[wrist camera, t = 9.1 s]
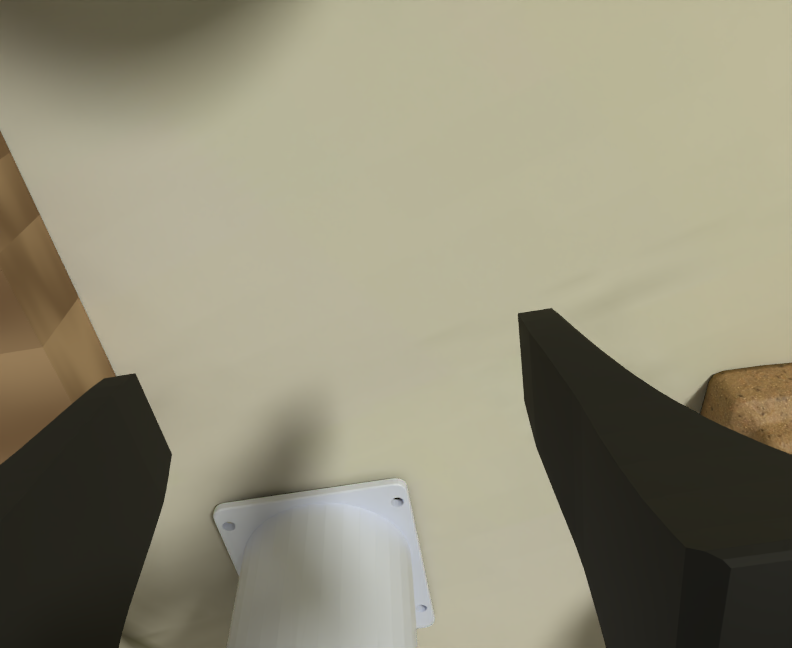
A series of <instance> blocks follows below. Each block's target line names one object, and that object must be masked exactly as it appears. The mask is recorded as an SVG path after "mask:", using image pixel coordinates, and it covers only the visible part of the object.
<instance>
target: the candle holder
mask: <svg viewBox="0 0 792 648" xmlns="http://www.w3.org/2000/svg"><path fill="white" fill-rule="evenodd" d="M700 415H702V416H704V417H706V418H708V419H710V420H712V421H714V422H716V423H718V424H720V425H722V426H725V427H727V428H729V429H731V430H734V431H736V432H738V433H740V434H743V435H745V436H747V437H749V438H752V439H754V440H756V441H758V442H761V443H763V444H766V445H768V446H771V447H774V448H776V449H779V450H781V451H784V452H786V453H789V454H792V363H785V364H774V365H763V366H755V367H748V368H741V369H734V370H726V371H722V372H720V373H717V374H715V375H713V377H712V378H711V380H710V381H709V383H708V387H707V391H706V395H705V398H704V402H703V406H702V410H701V414H700Z"/></svg>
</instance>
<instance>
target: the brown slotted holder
mask: <svg viewBox="0 0 792 648" xmlns="http://www.w3.org/2000/svg"><path fill="white" fill-rule="evenodd" d="M110 377H116V375H115V373H114V371H113V369H112V367H111V365H110V362H109V360H108V358H107V356H106V354H105V352H104V350H103V348H102V346H101V343H100V341H99V339H98V337H97V335H96V333H95V331H94V329H93V326H92V324H91V322H90V320H89V318H88V316H87V314H86V312H85V309H84V307H83V305H82V303H81V301H80V299H79V297H78V295H77V293H76V290H75V288H74V286H73V284H72V282H71V280H70V278H69V276H68V273H67V271H66V269H65V267H64V265H63V263H62V261H61V259H60V256H59V254H58V252H57V250H56V248H55V246H54V244H53V242H52V240H51V237H50V235H49V233H48V231H47V229H46V227H45V225H44V223H43V220H42V218H41V216H40V214H39V212H38V210H37V208H36V206H35V204H34V201H33V199H32V197H31V195H30V193H29V191H28V189H27V187H26V184H25V182H24V180H23V178H22V176H21V174H20V172H19V170H18V167H17V165H16V163H15V161H14V159H13V157H12V155H11V153H10V151H9V148H8V146H7V144H6V142H5V140H4V138H3V136H2V134H1V131H0V464H2V463H3V462H4V461H5V460H7V459H8V458H9V457H10V456H12V455H13V454H14V453H15V452H17V451H18V450H19V449H20V448H21V447H23V446H24V445H25V444H26V443H27V442H28V441H29V440H31V439H32V438H33V437H34V436H35V435H36V434H38V433H39V432H40V431H41V430H42V429H43V428H44V427H46V426H47V425H48V424H49V423H50V422H51V421H53V420H54V419H55V418H56V417H57V416H58V415H59V414H61V413H62V412H63V411H64V410H65V409H66V408H68V407H69V406H70V405H71V404H72V403H73V402H75V401H76V400H77V399H78V398H79V397H80V396H82V395H83V394H84V393H85V392H87V391H88V390H89V389H90V388H92V387H93V386H94V385H96V384H97V383H98V382H100V381H101V380H103V379H104V378H110Z"/></svg>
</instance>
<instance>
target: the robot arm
mask: <svg viewBox="0 0 792 648" xmlns="http://www.w3.org/2000/svg"><path fill="white" fill-rule="evenodd" d="M518 322H519V335H520V348H521V361H522V375H523V388H524V401H525V405H526V409H527V413H528V417H529V421H530V425H531V429H532V432H533V436H534V440H535V444H536V447H537V450H538V452H539V455H540V458H541V460H542V463H543V465H544V468H545V470H546V473H547V475H548V478H549V480H550V483H551V485H552V488H553V490H554V493H555V495H556V498H557V500H558V503H559V505H560V508H561V510H562V513H563V515H564V518H565V520H566V523H567V525H568V528H569V530H570V533H571V535H572V538H573V540H574V543H575V545H576V548H577V550H578V553H579V556H580V559H581V562H582V565H583V568H584V571H585V574H586V578H587V581H588V584H589V588H590V591H591V595H592V598H593V602H594V605H595V609H596V612H597V616H598V619H599V623H600V627H601V630H602V634H603V638H604V641H605V645H606V648H792V454H789V453H786V452H784V451H781V450H779V449H776V448H774V447H771V446H768V445H766V444H763V443H761V442H758V441H756V440H754V439H752V438H749V437H747V436H745V435H743V434H740V433H738V432H736V431H734V430H731V429H729V428H727V427H725V426H722V425H720V424H718V423H716V422H714V421H712V420H710V419H708V418H706V417H704V416H702V415H700V414H699V413H697V412H695V411H693V410H691V409H689V408H688V407H686V406H684V405H682V404H680V403H678V402H677V401H675V400H673V399H671V398H670V397H668V396H666V395H665V394H663V393H661V392H660V391H658V390H656V389H655V388H653V387H652V386H650V385H649V384H647V383H646V382H644V381H643V380H641V379H640V378H638V377H637V376H635V375H634V374H632V373H631V372H630V371H628V370H627V369H625V368H624V367H623V366H621V365H620V364H619V363H617V362H616V361H615V360H614V359H612V358H611V357H610V356H608V355H607V354H606V353H604V352H603V351H602V350H601V349H599V348H598V347H597V346H596V345H594V344H593V343H592V342H591V341H590V340H588V339H587V338H586V337H585V336H584V335H582V334H581V333H580V332H579V331H578V330H577V329H575V328H574V327H573V326H572V325H571V324H570V323H568V322H567V321H566V320H565V319H564V318H563V317H562V316H560V315H559V314H558V313H557V312H556V311H554V310H553V309H552V308H550V309H543V310H537V311H531V312H524V313H518ZM171 456H172V454H171V451H170V449H169V447H168V445H167V442H166V440H165V438H164V436H163V434H162V431H161V429H160V427H159V425H158V423H157V420H156V418H155V416H154V414H153V411H152V409H151V407H150V405H149V403H148V400H147V398H146V396H145V394H144V392H143V389H142V387H141V385H140V383H139V380H138V378H137V376H136V374H129V375H122V376H116V377H110V378H104V379H103V380H101V381H100V382H98V383H97V384H96V385H94V386H93V387H92V388H90V389H89V390H88V391H87V392H85V393H84V394H83V395H82V396H80V397H79V398H78V399H77V400H76V401H75V402H73V403H72V404H71V405H70V406H69V407H68V408H66V409H65V410H64V411H63V412H62V413H61V414H59V415H58V416H57V417H56V418H55V419H54V420H53V421H51V422H50V423H49V424H48V425H47V426H46V427H44V428H43V429H42V430H41V431H40V432H39V433H38V434H36V435H35V436H34V437H33V438H32V439H31V440H29V441H28V442H27V443H26V444H25V445H24V446H23V447H21V448H20V449H19V450H18V451H17V452H15V453H14V454H13V455H12V456H10V457H9V458H8V459H7V460H5V461H4V462H3V463H2V464H0V648H119V643H120V639H121V634H122V631H123V627H124V624H125V620H126V617H127V613H128V609H129V606H130V603H131V600H132V597H133V594H134V591H135V588H136V585H137V582H138V579H139V576H140V573H141V570H142V567H143V564H144V561H145V558H146V555H147V552H148V549H149V546H150V543H151V540H152V537H153V534H154V531H155V528H156V525H157V522H158V519H159V516H160V512H161V509H162V506H163V502H164V498H165V492H166V487H167V482H168V476H169V469H170V463H171ZM393 498H401V499H393ZM213 518H214V521H215V523H216V526H217V528H218V530H219V532H220V535H221V537H222V539H223V542H224V544H225V546H226V548H227V551H228V553H229V555H230V558H231V560H232V562H233V564H234V567H235V569H236V571H237V574H238V576H239V581H238V587H237V592H236V598H235V603H234V609H233V614H232V619H231V625H230V630H229V636H228V641H227V647H226V648H418V643H417V629H418V628H425V627H429V626H431V625H432V624H433V623H434V621H435V617H434V610H433V606H432V601H431V596H430V591H429V587H428V582H427V577H426V572H425V568H424V563H423V558H422V553H421V549H420V544H419V539H418V534H417V530H416V525H415V520H414V515H413V510H412V506H411V501H410V496H409V491H408V487H407V484H406V482H405V481H403V480H402V479H399V478H392V479H385V480H378V481H371V482H364V483H357V484H351V485H344V486H337V487H330V488H323V489H316V490H309V491H303V492H296V493H289V494H282V495H275V496H268V497H261V498H255V499H248V500H241V501H234V502H227V503H222V504H219V505H218V506H216V508H215V510H214V514H213ZM227 522H231V523H227Z"/></svg>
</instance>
